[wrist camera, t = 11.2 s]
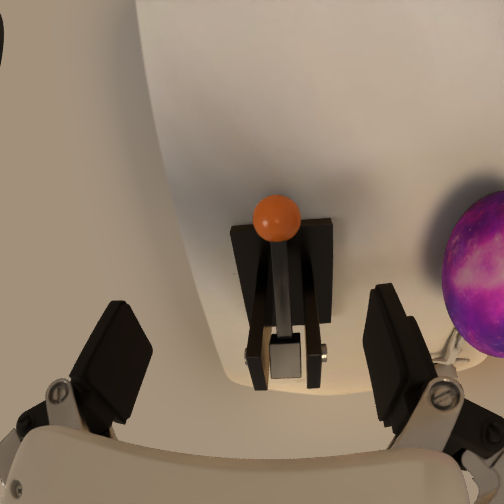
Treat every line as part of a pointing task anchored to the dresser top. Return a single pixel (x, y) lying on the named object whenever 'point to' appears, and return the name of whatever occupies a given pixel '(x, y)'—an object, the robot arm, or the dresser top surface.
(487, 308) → the decorative orb
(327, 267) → the switch bracket
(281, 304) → the switch lever
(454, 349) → the figurine
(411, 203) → the dresser top surface
